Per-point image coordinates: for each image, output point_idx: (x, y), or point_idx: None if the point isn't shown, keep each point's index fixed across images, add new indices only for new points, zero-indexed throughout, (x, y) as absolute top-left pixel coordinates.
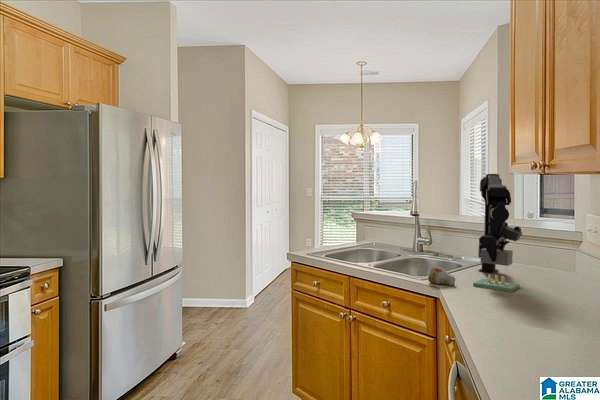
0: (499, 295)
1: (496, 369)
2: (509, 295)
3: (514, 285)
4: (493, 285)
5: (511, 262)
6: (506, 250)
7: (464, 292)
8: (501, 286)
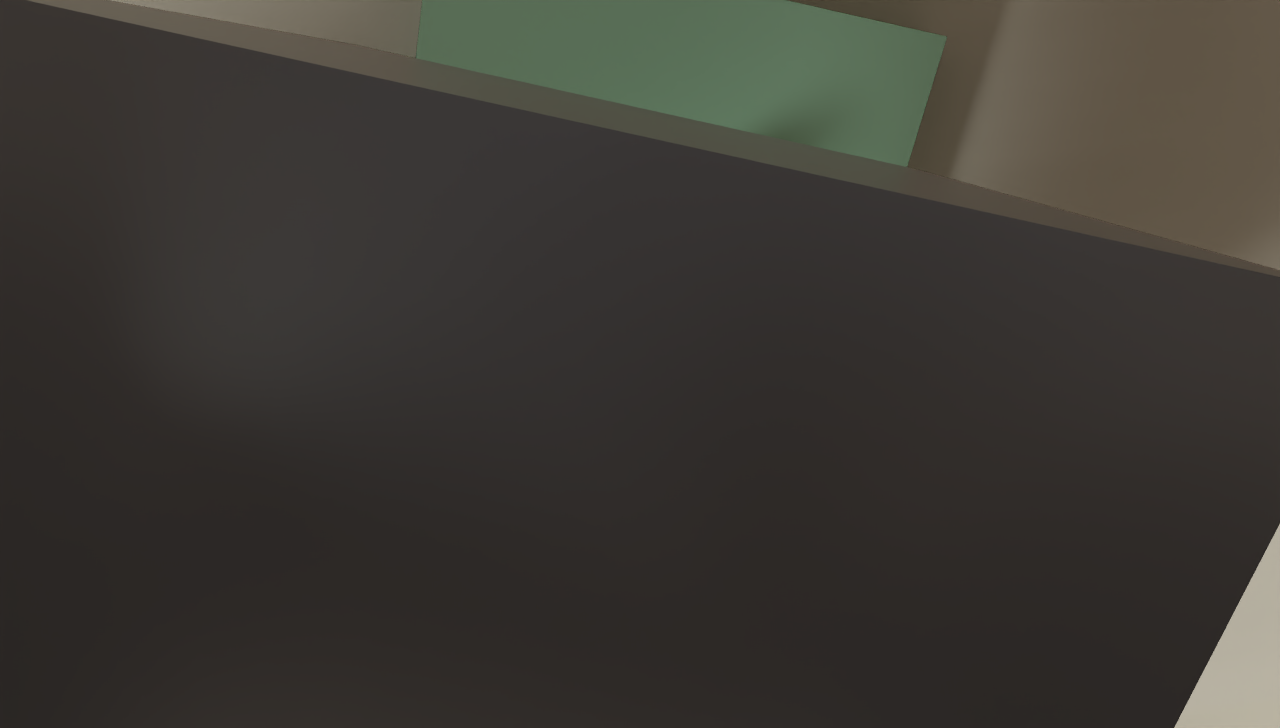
0: (1269, 200)
1: None
2: (1212, 31)
3: (607, 11)
4: None
5: (436, 64)
6: (54, 562)
7: (1231, 697)
8: None
